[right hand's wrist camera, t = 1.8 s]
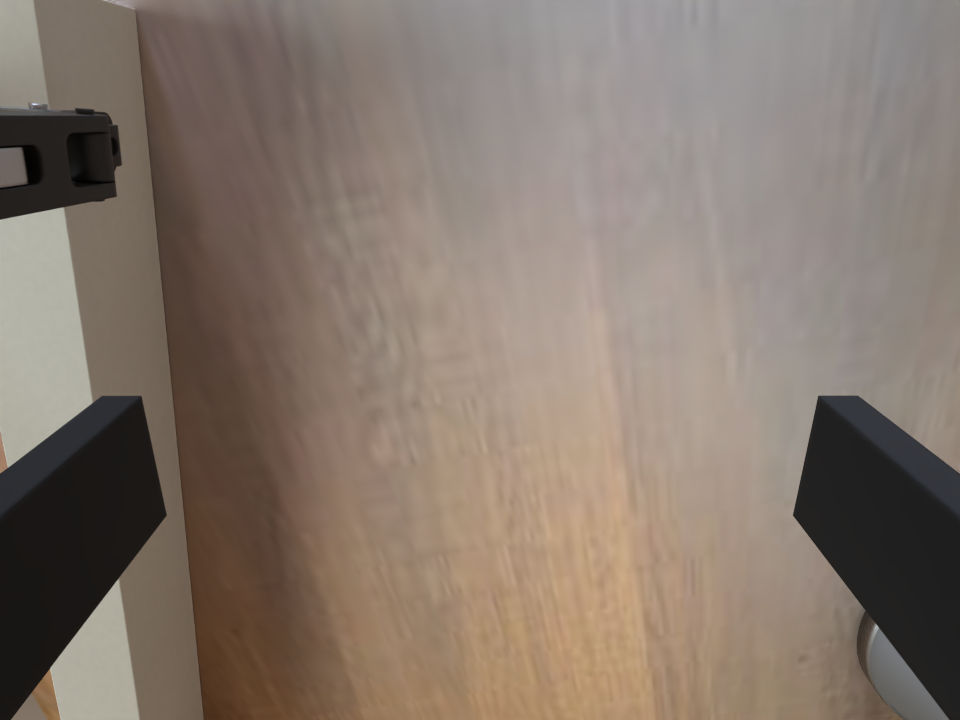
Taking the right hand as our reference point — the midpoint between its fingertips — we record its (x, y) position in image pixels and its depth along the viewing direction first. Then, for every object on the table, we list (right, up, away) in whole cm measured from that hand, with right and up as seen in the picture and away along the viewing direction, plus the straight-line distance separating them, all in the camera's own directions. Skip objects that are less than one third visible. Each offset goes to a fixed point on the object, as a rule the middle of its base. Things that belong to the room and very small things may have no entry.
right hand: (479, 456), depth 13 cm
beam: (-20, -6, +26) cm, 34 cm away
